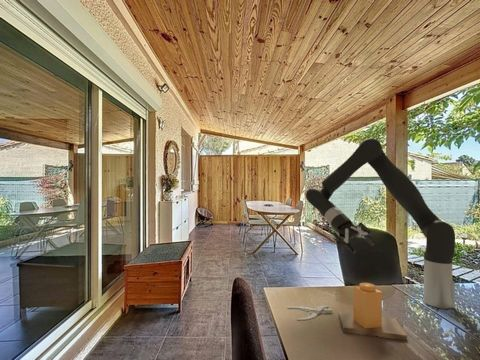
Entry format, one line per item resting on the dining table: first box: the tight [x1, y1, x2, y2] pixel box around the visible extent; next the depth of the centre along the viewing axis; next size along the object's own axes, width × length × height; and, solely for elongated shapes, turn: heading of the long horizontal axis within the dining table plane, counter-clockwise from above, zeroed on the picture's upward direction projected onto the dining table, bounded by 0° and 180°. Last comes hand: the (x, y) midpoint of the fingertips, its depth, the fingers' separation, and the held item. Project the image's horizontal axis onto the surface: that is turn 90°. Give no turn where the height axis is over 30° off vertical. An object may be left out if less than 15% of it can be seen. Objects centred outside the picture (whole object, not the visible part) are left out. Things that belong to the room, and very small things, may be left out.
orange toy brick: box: [352, 282, 383, 328], centre depth 89 cm, size 6×6×12 cm
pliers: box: [287, 305, 333, 321], centre depth 99 cm, size 10×2×15 cm
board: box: [338, 311, 408, 341], centre depth 89 cm, size 18×11×6 cm, turn 77°
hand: (364, 247), depth 104 cm, fingers open, 8 cm apart
